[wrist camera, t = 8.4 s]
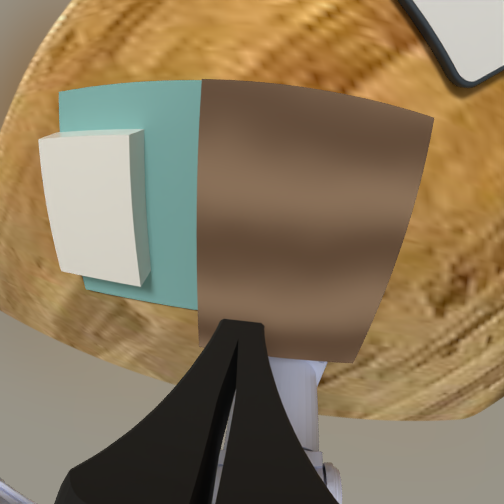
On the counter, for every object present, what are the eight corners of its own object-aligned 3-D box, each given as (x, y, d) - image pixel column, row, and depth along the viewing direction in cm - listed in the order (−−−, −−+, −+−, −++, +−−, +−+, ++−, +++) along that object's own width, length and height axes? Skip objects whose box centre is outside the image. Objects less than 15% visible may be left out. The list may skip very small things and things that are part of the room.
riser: (345, 323, 23) (353, 363, 19) (210, 308, 23) (199, 346, 20) (403, 109, 15) (434, 117, 11) (220, 81, 15) (201, 79, 11)
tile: (61, 270, 20) (74, 257, 22) (140, 286, 20) (151, 270, 21) (38, 139, 15) (56, 132, 16) (129, 134, 15) (144, 129, 16)
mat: (204, 307, 23) (203, 310, 23) (88, 286, 24) (85, 289, 23) (211, 80, 15) (209, 80, 15) (62, 91, 15) (58, 92, 15)
